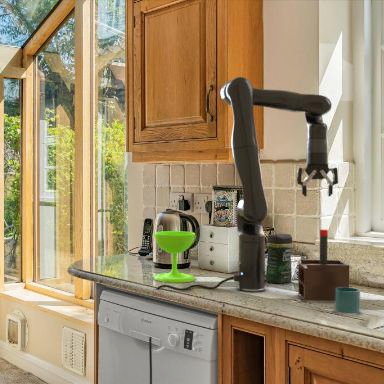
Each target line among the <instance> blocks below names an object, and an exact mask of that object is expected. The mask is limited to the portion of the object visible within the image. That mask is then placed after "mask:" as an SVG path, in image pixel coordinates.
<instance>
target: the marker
mask: <svg viewBox="0 0 384 384" xmlns="http://www.w3.org/2000/svg"><path fill="white" fill-rule="evenodd" d="M328 232H329V230H328V229H319V260H320V264H327V260H328V235H329V233H328Z"/></svg>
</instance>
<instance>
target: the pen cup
mask: <svg viewBox="0 0 384 384" xmlns="http://www.w3.org/2000/svg"><path fill="white" fill-rule="evenodd" d="M334 311H335V312H337V313H341V314H352V315H353V314H354V315H355V314H359V313H360V312H361V290H360V289H359V288H356V287H350V286H349V287H338V288H335V301H334Z"/></svg>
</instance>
